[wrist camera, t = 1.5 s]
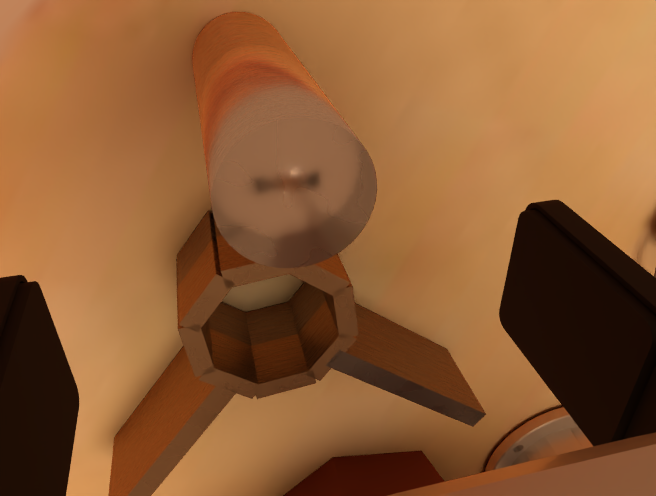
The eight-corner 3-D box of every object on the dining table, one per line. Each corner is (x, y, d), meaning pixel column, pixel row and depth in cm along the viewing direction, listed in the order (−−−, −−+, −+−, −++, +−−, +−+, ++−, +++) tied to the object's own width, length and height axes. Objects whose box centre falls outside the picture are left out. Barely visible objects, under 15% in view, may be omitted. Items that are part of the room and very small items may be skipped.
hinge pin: (305, 49, 27) (408, 173, 15) (253, 125, 28) (312, 290, 17) (226, -10, 25) (276, 81, 13) (174, 74, 26) (178, 224, 14)
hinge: (481, 313, 39) (527, 375, 34) (310, 490, 45) (327, 564, 40) (235, 171, 29) (248, 230, 24) (59, 422, 35) (41, 509, 30)
